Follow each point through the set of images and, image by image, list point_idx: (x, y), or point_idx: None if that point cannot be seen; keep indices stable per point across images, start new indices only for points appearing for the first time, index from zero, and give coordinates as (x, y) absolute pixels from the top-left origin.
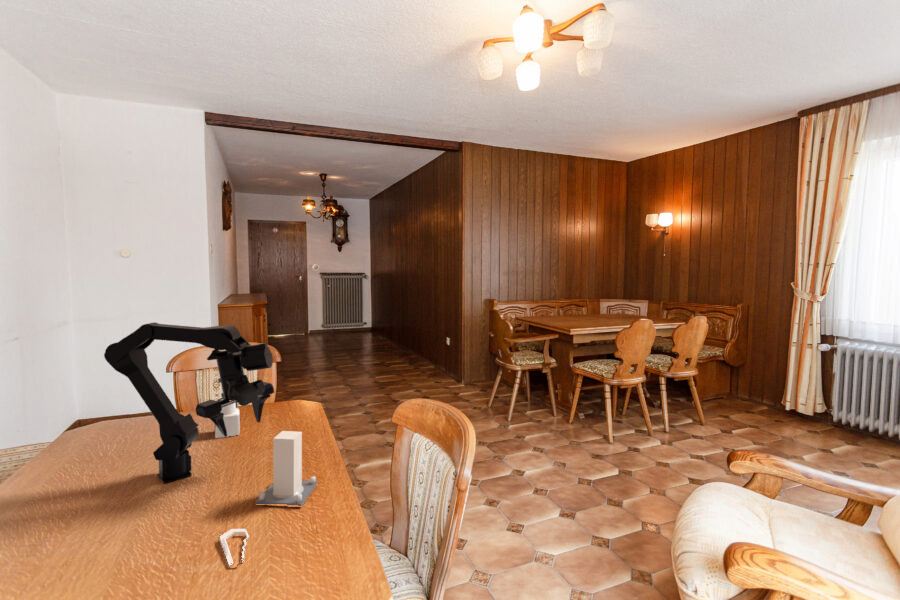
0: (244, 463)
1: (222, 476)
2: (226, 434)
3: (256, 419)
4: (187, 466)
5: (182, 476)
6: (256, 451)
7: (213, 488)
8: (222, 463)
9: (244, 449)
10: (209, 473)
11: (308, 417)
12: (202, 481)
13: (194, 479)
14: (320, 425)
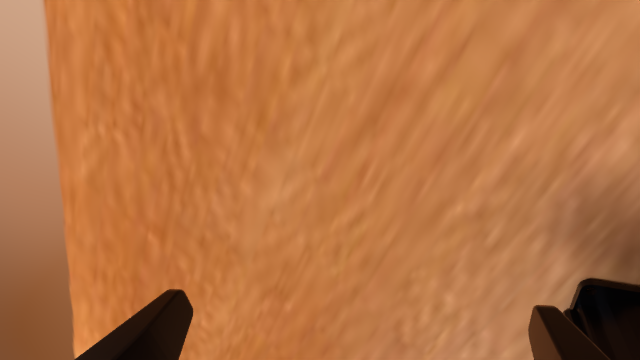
0: (354, 214)
1: (488, 175)
2: (550, 320)
3: (181, 333)
4: (598, 330)
5: (631, 294)
6: (279, 263)
7: (613, 81)
8: (418, 276)
9: (306, 305)
10: (510, 242)
11: (96, 325)
12: (588, 198)
13: (597, 242)
14: (72, 263)
